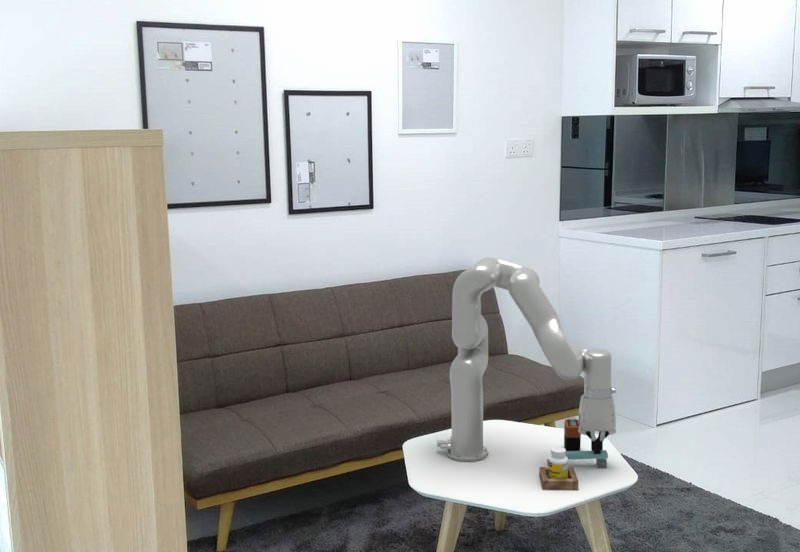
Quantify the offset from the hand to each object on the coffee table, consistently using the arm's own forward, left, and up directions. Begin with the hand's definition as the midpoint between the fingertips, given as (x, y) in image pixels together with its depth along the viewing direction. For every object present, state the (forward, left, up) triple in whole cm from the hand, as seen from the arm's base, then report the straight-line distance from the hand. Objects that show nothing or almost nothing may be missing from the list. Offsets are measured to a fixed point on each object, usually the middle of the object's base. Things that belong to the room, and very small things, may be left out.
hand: (596, 452), depth 247 cm
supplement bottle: (-13, -12, -4) cm, 18 cm away
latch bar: (-5, 0, -2) cm, 5 cm away
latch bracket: (-6, 0, -4) cm, 7 cm away
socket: (-13, -12, -4) cm, 18 cm away
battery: (-6, +11, -4) cm, 13 cm away
